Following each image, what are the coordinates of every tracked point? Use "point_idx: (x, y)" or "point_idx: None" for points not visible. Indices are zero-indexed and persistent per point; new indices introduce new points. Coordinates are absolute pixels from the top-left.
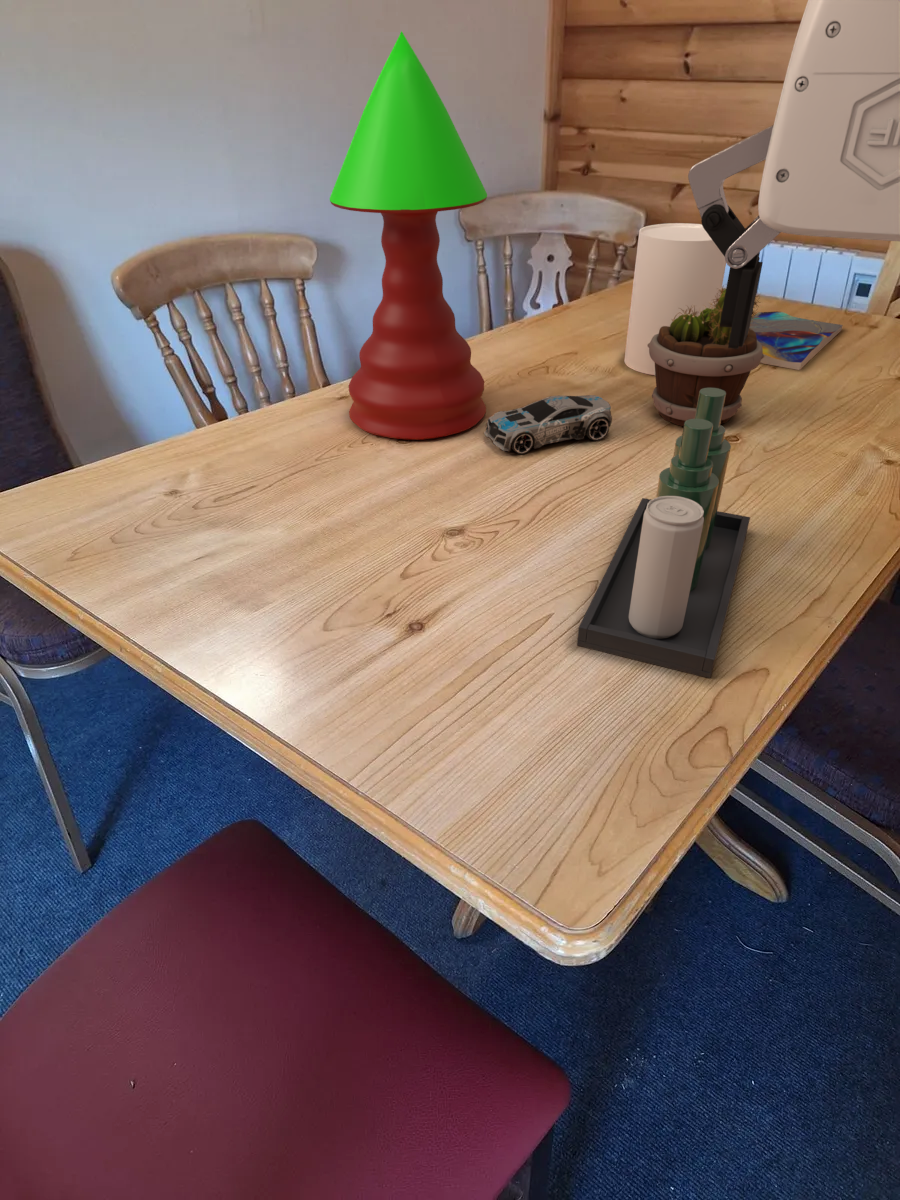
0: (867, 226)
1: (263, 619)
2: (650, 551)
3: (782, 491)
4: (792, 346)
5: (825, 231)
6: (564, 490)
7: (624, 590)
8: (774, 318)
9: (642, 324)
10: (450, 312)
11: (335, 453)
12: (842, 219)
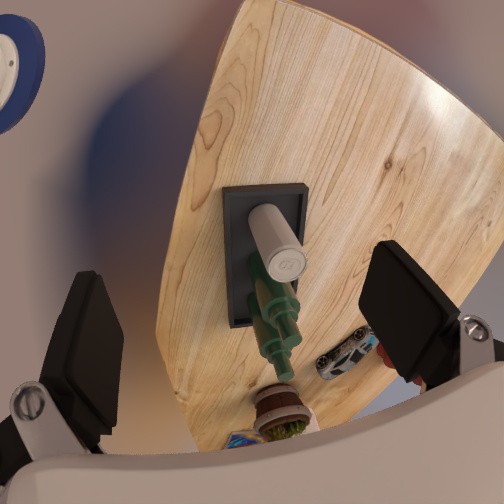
0: (349, 455)
1: (447, 147)
2: (291, 234)
3: (218, 358)
4: (238, 441)
5: (436, 397)
6: (332, 312)
7: None
8: None
9: (313, 426)
10: (416, 380)
11: (439, 285)
12: (422, 440)
